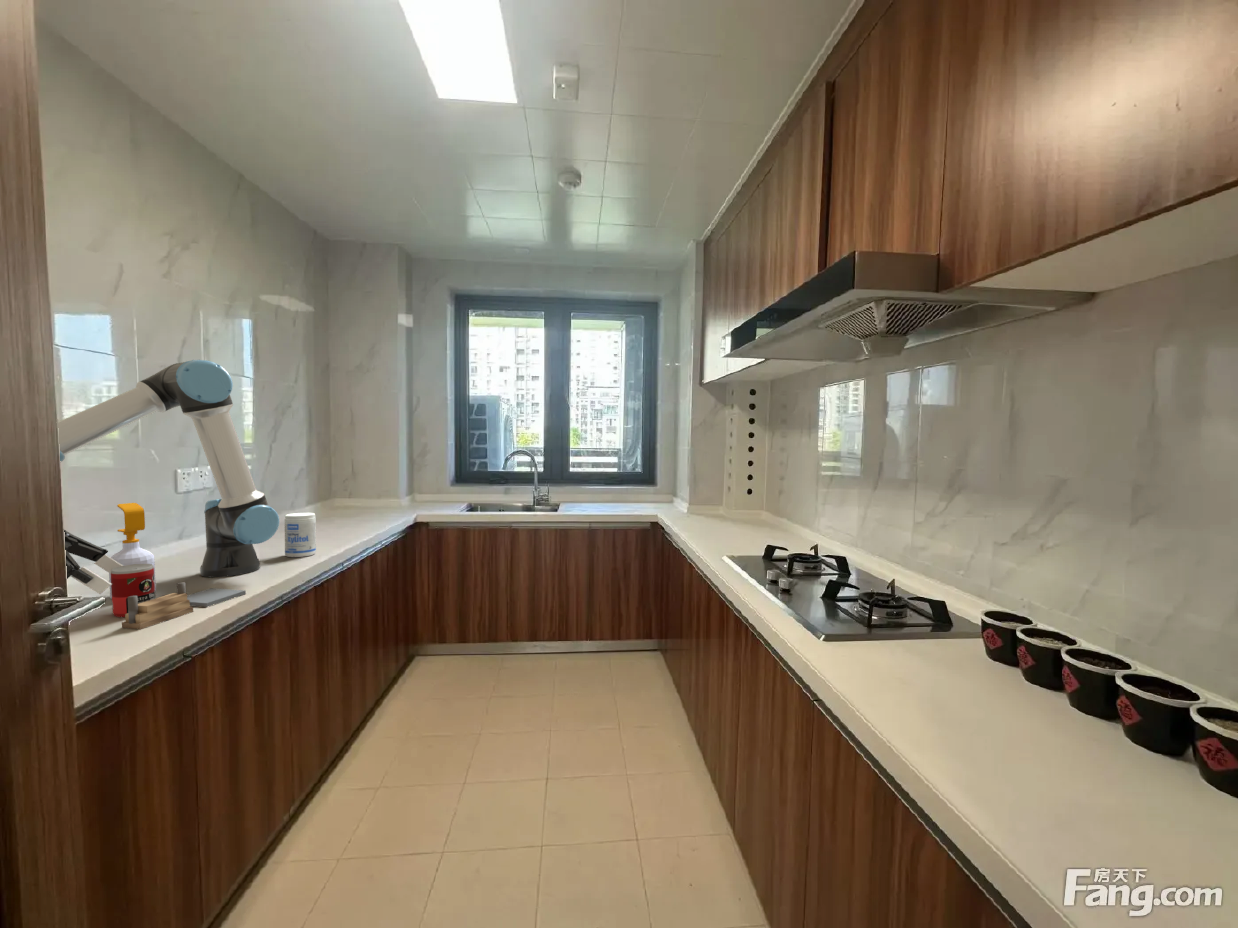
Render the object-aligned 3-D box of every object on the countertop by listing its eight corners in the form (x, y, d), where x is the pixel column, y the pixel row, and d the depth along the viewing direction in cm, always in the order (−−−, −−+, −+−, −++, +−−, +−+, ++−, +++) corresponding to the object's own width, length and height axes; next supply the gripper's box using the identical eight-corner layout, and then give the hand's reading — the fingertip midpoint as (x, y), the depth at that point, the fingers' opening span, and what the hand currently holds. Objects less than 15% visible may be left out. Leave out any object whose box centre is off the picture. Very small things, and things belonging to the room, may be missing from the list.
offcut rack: (177, 610, 130) (175, 581, 129) (194, 611, 129) (192, 582, 128) (120, 628, 118) (119, 596, 117) (139, 629, 117) (137, 598, 116)
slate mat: (211, 591, 145) (211, 588, 145) (245, 594, 143) (245, 590, 143) (170, 604, 134) (170, 600, 134) (207, 606, 132) (206, 603, 132)
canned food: (130, 618, 124) (128, 572, 123) (103, 616, 125) (101, 570, 125) (164, 608, 131) (162, 564, 131) (138, 606, 133) (136, 562, 132)
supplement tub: (286, 559, 183) (284, 517, 182) (284, 554, 191) (282, 513, 190) (318, 555, 188) (317, 514, 188) (315, 550, 196) (313, 511, 195)
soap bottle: (145, 588, 148) (141, 500, 146) (162, 592, 144) (158, 502, 142) (103, 597, 140) (98, 504, 138) (120, 602, 136) (115, 506, 134)
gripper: (33, 528, 128) (119, 581, 136) (-26, 547, 106) (80, 609, 114) (63, 504, 130) (145, 558, 138) (10, 518, 108) (112, 581, 116)
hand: (116, 581), depth 126 cm, fingers open, 13 cm apart
